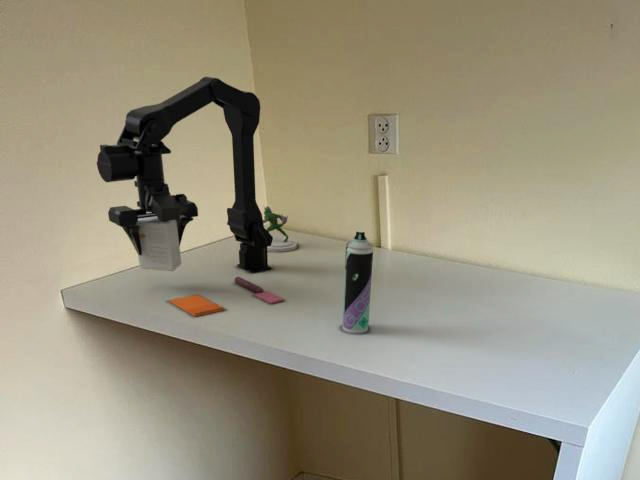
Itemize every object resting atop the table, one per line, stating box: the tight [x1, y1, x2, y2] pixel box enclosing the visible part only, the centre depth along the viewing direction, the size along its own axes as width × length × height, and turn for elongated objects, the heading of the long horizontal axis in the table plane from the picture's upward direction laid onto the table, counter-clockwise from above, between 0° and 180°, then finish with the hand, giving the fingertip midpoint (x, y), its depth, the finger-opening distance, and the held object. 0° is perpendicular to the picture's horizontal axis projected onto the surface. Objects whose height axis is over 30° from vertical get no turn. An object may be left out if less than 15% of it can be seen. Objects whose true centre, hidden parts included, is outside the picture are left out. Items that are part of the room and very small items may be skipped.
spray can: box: [342, 231, 374, 335], centre depth 138 cm, size 6×6×20 cm
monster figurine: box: [263, 205, 298, 253], centre depth 190 cm, size 12×12×10 cm
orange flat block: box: [169, 294, 224, 318], centre depth 149 cm, size 7×11×1 cm, turn 42°
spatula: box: [234, 276, 284, 305], centre depth 159 cm, size 17×4×2 cm, turn 42°
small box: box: [136, 216, 182, 272], centre depth 152 cm, size 8×6×10 cm
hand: (158, 252), depth 153 cm, fingers closed on small box, 9 cm apart
